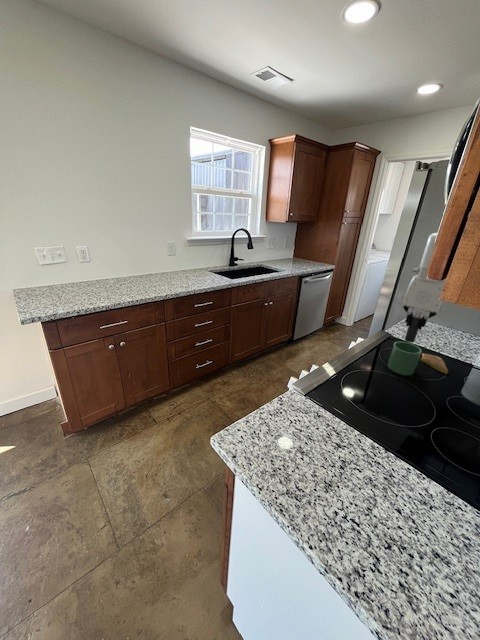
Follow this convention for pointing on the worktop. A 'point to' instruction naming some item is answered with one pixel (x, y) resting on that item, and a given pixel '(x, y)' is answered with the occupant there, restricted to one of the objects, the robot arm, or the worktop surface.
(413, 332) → the dark bottle
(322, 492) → the worktop surface
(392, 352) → the green cup
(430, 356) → the shard
